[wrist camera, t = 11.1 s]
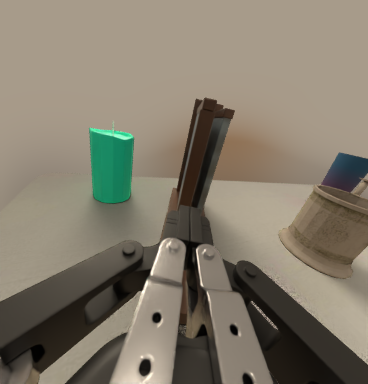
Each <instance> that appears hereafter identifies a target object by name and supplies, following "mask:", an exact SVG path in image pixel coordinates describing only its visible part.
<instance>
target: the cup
mask: <svg viewBox="0 0 368 384" xmlns="http://www.w3.org/2000/svg"><path fill="white" fill-rule="evenodd" d="M367 173H368V159H366V158H362V157H358V156H353V155H349V154H344V153H339V154H338V155H337V157H336V159H335V161H334V162H333V164H332V166H331V168H330V169H329V171H328V173H327V175H326V176H325V178H324V180H323V182H322V184H321V185H324V186H328V187H332V188H336V189H340V190H343V191H346V192H349V193H350V192H351V191H352V190H353V189H354V188H355V187H356V186H357V185H358V183H359V182H360V181H361V180H362V179H360V178H364V177H365V176H366V174H367Z"/></svg>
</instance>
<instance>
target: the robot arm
mask: <svg viewBox="0 0 368 384" xmlns="http://www.w3.org/2000/svg"><path fill="white" fill-rule="evenodd" d="M183 270H186V282H185V288H186V310H187V327H186V334H185V336H184V335H182V334H180V333H178V326H179V318H180V309H181V301H182V292H183V285H182V277H183ZM138 291H142V293H141V296H140V299H139V302H138V304H137V307H136V310H135V313H134V316H133V318H132V321H131V324H130V327H129V330H128V332H127V333H124V334H122V335H120V336H118V337H116V338H114V339H113V340H111V341H109V342H108V343H107V344H106V345H104V346H103V347H102V348H101V349H100V350H98V351H97V352H96V353H95V354H94V355H93V356H92V357H91V358H90V359H89V360H88V361H87V362H86V363H85V364H84V365H83V366H82V367H81V368H80V369H79V370H78V371H77V372H76V373H75V374H74V375H73V376H72V377H71V378H70V379H69V380H68V381H67V382H66V383H65V384H278V383H279V384H368V365H367V364H366V363H365V362H364V361H363V360H362V359H361V358H359V357H358V356H357V355H356V354H355V353H354V352H353V351H352V350H350V349H349V348H348V347H347V346H346V345H345V344H344V343H343V342H341V341H340V340H339V339H338V338H337V337H336V336H335V335H333V334H332V333H331V332H330V331H329V330H328V329H327V328H326V327H324V326H323V325H322V324H321V323H320V322H319V321H318V320H317V319H315V318H314V317H313V316H312V315H311V314H310V313H309V312H307V311H306V310H305V309H304V308H303V307H302V306H301V305H300V304H298V303H297V302H296V301H295V300H294V299H293V298H292V297H291V296H289V295H288V294H287V293H286V292H285V291H284V290H283V289H281V288H280V287H279V286H278V285H277V284H276V283H275V282H274V281H272V280H271V279H270V278H269V277H268V276H267V275H266V274H265V273H263V272H262V271H261V270H260V269H259V268H258V267H257V266H255V265H254V264H252V263H251V262H248V261H239V262H238V263H237V264H236V265H234V264H232V263H230V262H228V261H225V260H224V259H222V256H221V254H220V252H219V251H218V249H217V248H215V247H214V245H213V240H212V234H211V229H210V224H209V221H208V219H207V218H206V217H205V216H201V214H200V209H199V208H194V207H189V206H184V205H180V206H179V211H175V210H171V211H170V212H169V213H168V216H167V220H166V224H165V228H164V232H163V237H162V240H161V241H160V242H159V243H158V244H156V245H154V246H150V247H143V246H142V245H141V244H140V243H139V242H137V241H133V240H128V241H123V242H121V243H119V244H117V245H115V246H113V247H111V248H109V249H107V250H105V251H103V252H101V253H99V254H97V255H95V256H93V257H90V258H88V259H86V260H84V261H82V262H80V263H78V264H76V265H74V266H72V267H70V268H68V269H66V270H64V271H62V272H60V273H58V274H56V275H54V276H52V277H50V278H48V279H46V280H44V281H42V282H40V283H38V284H35V285H33V286H31V287H29V288H27V289H25V290H23V291H21V292H19V293H17V294H15V295H13V296H11V297H9V298H7V299H5V300H3V301H1V302H0V384H38V382H39V375H40V374H41V373H42V372H43V371H44V370H46V369H47V368H48V367H49V366H50V365H52V364H53V363H54V362H55V361H56V360H58V359H59V358H60V357H61V356H62V355H64V354H65V353H66V352H67V351H68V350H70V349H71V348H72V347H73V346H74V345H76V344H77V343H78V342H79V341H81V340H82V339H83V338H84V337H85V336H87V335H88V334H89V333H90V332H91V331H93V330H94V329H95V328H96V327H97V326H99V325H100V324H101V323H102V322H103V321H105V320H106V319H107V318H108V317H110V316H111V315H112V314H113V313H114V312H116V311H117V310H118V309H119V308H120V307H122V306H123V305H124V304H125V303H126V302H128V301H129V300H130V299H131V298H132V297H134V296H135V295H136V293H137V292H138ZM251 301H253V302H254V303H255V304H256V305H257V306H258V307H259V308H260V309H261V310H262V311H263V313H264V314H265V315H266V316H267V317H268V318H269V319H270V320H271V321H272V322H273V323H274V324H275V326H276V327H277V328H278V330H277V329H275V328H274V327H273V326H272V325H271V324H270V323H269V322H268V321H267V320H266V319H265V318H264V317H263V316H262V315H261V313H260V312H259V311H258V310H257V309H256V308H255V307H254V306H253V305H252V304H251ZM269 371H270V372H269ZM272 375H273V376H272ZM275 379H276V380H275Z"/></svg>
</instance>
